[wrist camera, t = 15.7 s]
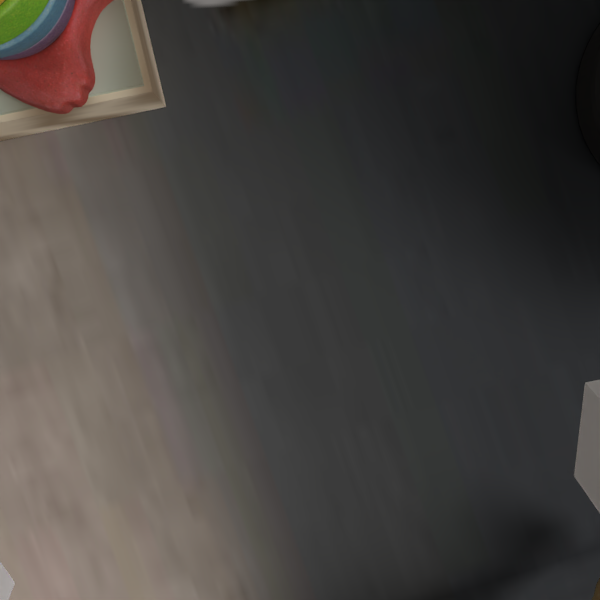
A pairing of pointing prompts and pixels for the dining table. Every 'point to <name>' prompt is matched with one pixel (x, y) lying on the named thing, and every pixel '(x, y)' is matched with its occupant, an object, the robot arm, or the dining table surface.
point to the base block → (100, 77)
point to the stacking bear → (48, 51)
